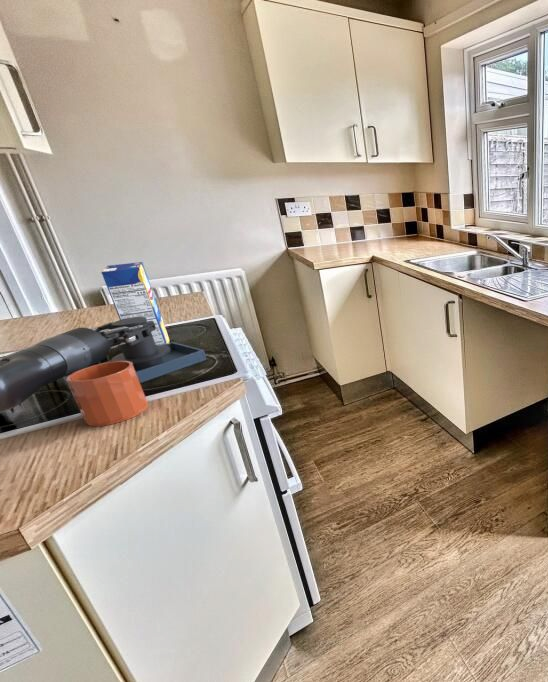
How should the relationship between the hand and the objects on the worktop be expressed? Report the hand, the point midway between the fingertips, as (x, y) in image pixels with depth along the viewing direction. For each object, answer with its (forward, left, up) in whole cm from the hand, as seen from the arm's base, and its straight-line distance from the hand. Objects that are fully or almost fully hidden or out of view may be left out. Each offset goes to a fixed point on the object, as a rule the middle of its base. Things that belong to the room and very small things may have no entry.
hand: (134, 325), depth 96 cm
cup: (-14, -20, -11) cm, 26 cm away
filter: (-1, -1, -10) cm, 10 cm away
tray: (-1, -1, -11) cm, 11 cm away
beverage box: (+7, +14, -11) cm, 19 cm away
